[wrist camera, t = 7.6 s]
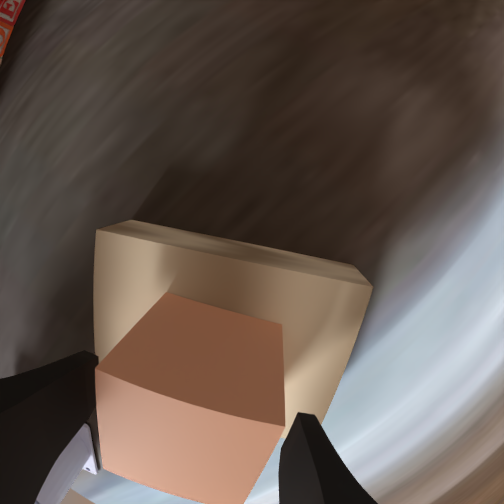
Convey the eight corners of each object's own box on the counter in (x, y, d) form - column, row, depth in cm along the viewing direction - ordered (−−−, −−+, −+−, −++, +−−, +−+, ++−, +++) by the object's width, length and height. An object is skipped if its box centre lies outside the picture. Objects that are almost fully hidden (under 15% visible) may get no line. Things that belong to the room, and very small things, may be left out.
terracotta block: (153, 381, 14) (103, 468, 8) (166, 292, 13) (95, 368, 7) (251, 410, 14) (239, 510, 8) (282, 324, 13) (285, 426, 7)
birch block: (126, 356, 18) (98, 389, 14) (134, 219, 16) (96, 229, 12) (308, 397, 18) (313, 441, 14) (351, 263, 16) (373, 287, 12)
